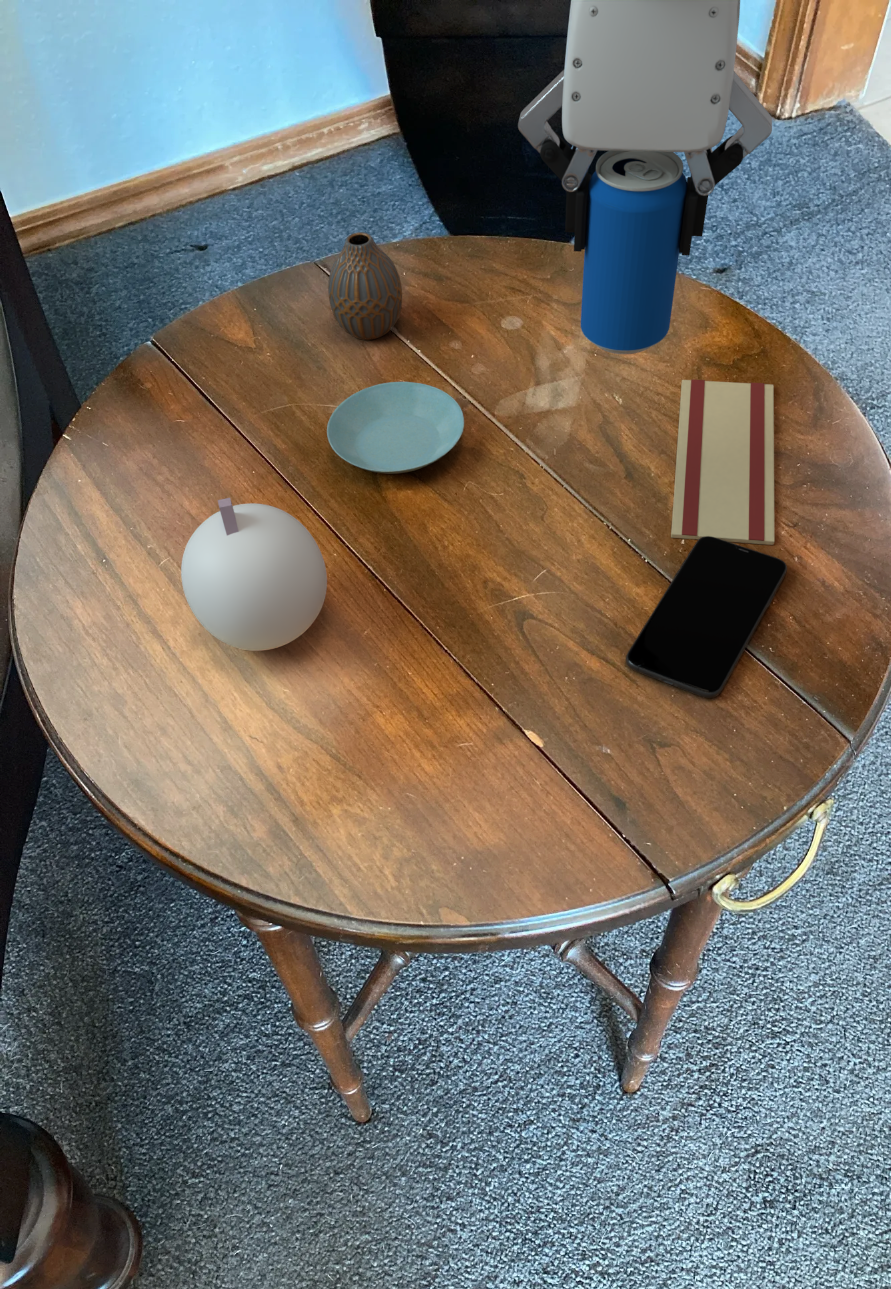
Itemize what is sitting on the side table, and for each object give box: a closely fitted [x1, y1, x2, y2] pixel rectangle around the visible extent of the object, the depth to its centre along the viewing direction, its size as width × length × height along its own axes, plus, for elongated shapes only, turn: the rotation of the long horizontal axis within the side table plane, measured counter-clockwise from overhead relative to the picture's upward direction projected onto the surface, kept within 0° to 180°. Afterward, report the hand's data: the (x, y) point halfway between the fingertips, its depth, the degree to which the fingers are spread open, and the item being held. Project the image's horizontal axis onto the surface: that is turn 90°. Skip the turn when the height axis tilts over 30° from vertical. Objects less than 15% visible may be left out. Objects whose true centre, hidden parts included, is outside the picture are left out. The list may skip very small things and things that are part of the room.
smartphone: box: [625, 536, 788, 699], centre depth 80 cm, size 7×1×15 cm
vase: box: [327, 231, 403, 341], centre depth 100 cm, size 7×7×9 cm
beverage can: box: [580, 151, 687, 355], centre depth 75 cm, size 6×6×12 cm
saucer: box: [326, 381, 465, 475], centre depth 93 cm, size 12×12×2 cm
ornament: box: [180, 497, 328, 652], centre depth 78 cm, size 10×10×12 cm
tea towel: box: [670, 379, 775, 546], centre depth 91 cm, size 8×20×1 cm, turn 171°
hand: (632, 240), depth 74 cm, fingers closed on beverage can, 6 cm apart
